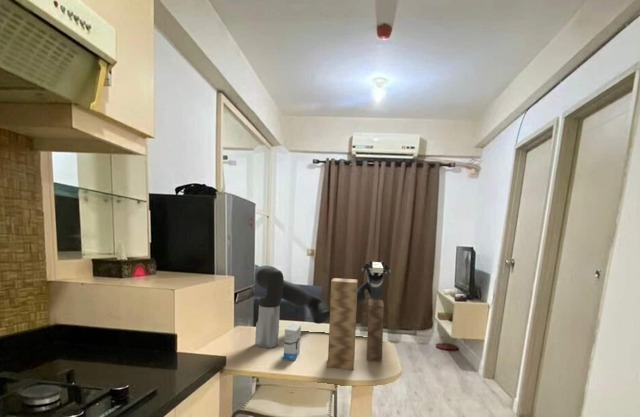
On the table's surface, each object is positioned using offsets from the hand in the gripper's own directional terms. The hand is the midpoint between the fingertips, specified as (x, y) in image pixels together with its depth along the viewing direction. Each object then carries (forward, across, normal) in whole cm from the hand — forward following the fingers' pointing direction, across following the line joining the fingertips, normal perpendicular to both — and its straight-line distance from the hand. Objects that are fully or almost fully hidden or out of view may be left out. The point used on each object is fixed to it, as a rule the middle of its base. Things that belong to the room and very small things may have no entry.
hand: (376, 262), depth 151 cm
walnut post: (-13, 0, -36) cm, 39 cm away
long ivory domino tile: (+3, 0, -4) cm, 5 cm away
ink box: (-5, +33, -42) cm, 54 cm away
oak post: (-3, +13, -42) cm, 44 cm away
